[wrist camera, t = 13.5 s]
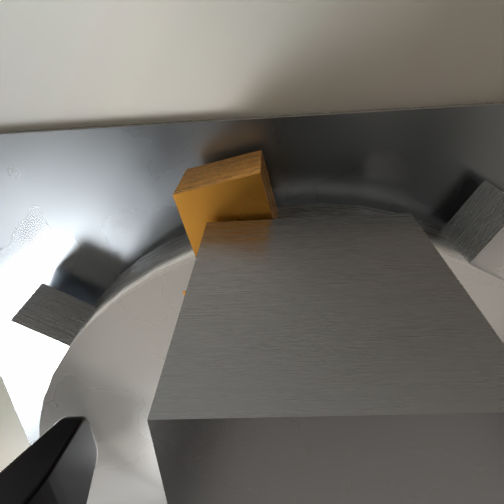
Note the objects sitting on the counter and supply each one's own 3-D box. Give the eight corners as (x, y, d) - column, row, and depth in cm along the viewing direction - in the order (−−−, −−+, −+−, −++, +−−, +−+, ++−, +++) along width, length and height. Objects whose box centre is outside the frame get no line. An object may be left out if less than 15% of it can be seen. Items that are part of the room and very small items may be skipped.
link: (389, 429, 12) (464, 693, 7) (232, 433, 12) (208, 689, 7) (411, 212, 9) (558, 417, 4) (206, 222, 9) (143, 425, 5)
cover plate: (539, 574, 19) (542, 580, 18) (88, 574, 20) (86, 579, 20) (735, 88, 10) (744, 89, 10) (-92, 137, 11) (-98, 139, 11)
